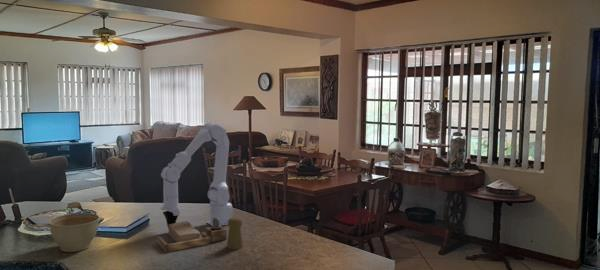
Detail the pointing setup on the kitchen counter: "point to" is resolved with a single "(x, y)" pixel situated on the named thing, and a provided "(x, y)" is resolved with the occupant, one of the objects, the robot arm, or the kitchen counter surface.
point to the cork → (235, 233)
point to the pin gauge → (215, 224)
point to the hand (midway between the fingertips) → (171, 228)
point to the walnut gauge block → (216, 234)
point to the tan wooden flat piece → (185, 243)
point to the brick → (183, 231)
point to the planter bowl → (74, 230)
